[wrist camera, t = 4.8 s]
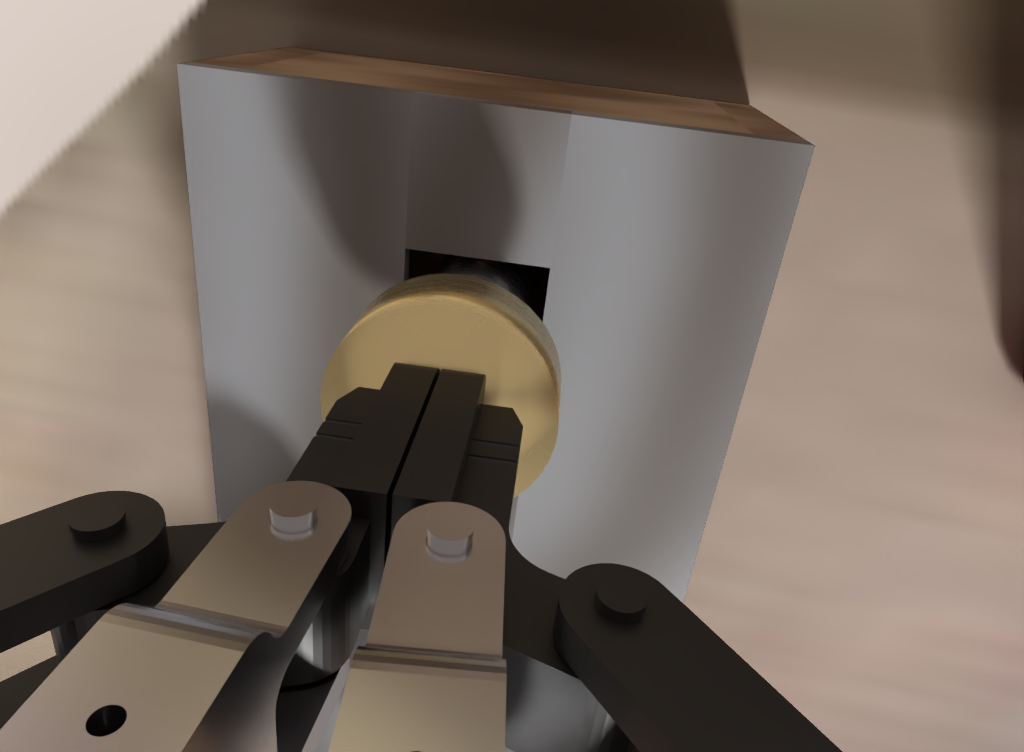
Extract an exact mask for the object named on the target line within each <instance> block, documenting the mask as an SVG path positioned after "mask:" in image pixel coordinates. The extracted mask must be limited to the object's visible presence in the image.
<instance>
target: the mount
mask: <svg viewBox="0 0 1024 752" xmlns="http://www.w3.org/2000/svg"><path fill="white" fill-rule="evenodd" d="M177 72H178V83H179V94H180V105H181V116H182V127H183V139H184V150H185V161H186V172H187V183H188V194H189V205H190V216H191V227H192V238H193V249H194V260H195V271H196V282H197V293H198V304H199V315H200V326H201V337H202V348H203V360H204V371H205V382H206V393H207V404H208V415H209V426H210V437H211V448H212V459H213V470H214V481H215V492H216V503H217V514H218V522H224V521H227V520H228V519H229V518H230V516H231V515H232V514H233V513H234V511H235V510H236V509H237V508H238V507H239V505H240V504H241V503H242V502H243V501H244V500H245V499H246V498H247V497H248V496H250V495H251V494H253V493H254V492H256V491H258V490H260V489H262V488H264V487H267V486H269V485H273V484H277V483H281V482H286V480H287V479H288V477H289V476H290V474H291V472H292V471H293V469H294V468H295V466H296V464H297V463H298V461H299V460H300V458H301V456H302V455H303V453H304V452H305V450H306V448H307V447H308V445H309V444H310V442H311V440H312V439H313V437H314V436H315V437H316V432H317V431H318V429H319V428H320V426H321V424H322V423H323V420H322V415H321V405H320V396H321V385H322V381H323V376H324V373H325V370H326V368H327V365H328V363H329V360H330V359H331V357H332V355H333V354H334V352H335V350H336V349H337V347H338V346H339V344H340V343H341V342H342V340H343V339H344V338H345V336H346V335H347V333H348V332H349V331H350V329H351V328H352V326H353V325H354V324H355V322H356V321H357V320H358V318H359V317H360V315H361V314H362V313H363V312H364V310H365V309H366V308H367V307H368V305H369V304H370V303H371V302H372V301H374V300H375V299H376V298H377V297H378V296H379V295H380V294H382V293H383V292H385V291H386V290H388V289H389V288H391V287H393V286H395V285H397V284H399V283H401V282H403V281H406V280H409V279H412V278H415V277H419V276H424V275H430V274H435V273H436V271H437V269H438V267H439V266H440V264H441V262H442V260H443V258H444V257H445V255H446V254H450V255H457V256H464V257H472V258H479V259H487V260H494V261H501V262H509V263H516V264H524V265H531V266H539V268H538V274H537V279H536V285H535V290H534V296H533V302H532V307H531V309H532V310H533V312H534V313H535V314H536V315H537V316H538V317H539V318H540V320H541V321H542V322H543V324H544V325H545V327H546V328H547V330H548V332H549V333H550V335H551V337H552V339H553V341H554V344H555V347H556V349H557V352H558V356H559V361H560V365H561V378H562V381H561V396H560V411H559V425H558V435H557V440H556V444H555V448H554V450H553V453H552V455H551V458H550V460H549V462H548V463H547V465H546V467H545V468H544V470H543V472H542V473H541V474H540V475H539V476H538V478H537V479H536V480H535V481H534V482H533V483H532V484H531V485H530V486H529V487H528V488H527V489H526V490H525V491H523V492H522V493H520V494H519V495H518V496H516V497H515V498H513V505H512V512H511V519H510V526H509V534H510V538H511V540H512V542H513V544H514V546H515V547H516V549H517V550H518V551H519V552H520V554H521V555H522V556H523V557H524V558H526V559H527V560H528V561H529V562H531V563H532V564H534V565H535V566H537V567H539V568H540V569H542V570H545V571H547V572H549V573H551V574H554V575H556V576H559V577H561V578H564V579H566V578H567V577H568V575H570V574H571V573H572V572H574V571H575V570H577V569H579V568H581V567H584V566H587V565H591V564H598V563H613V564H621V565H625V566H629V567H632V568H635V569H638V570H640V571H642V572H644V573H646V574H648V575H650V576H652V577H653V578H655V579H656V580H658V581H659V582H660V583H661V584H663V585H664V586H665V587H666V588H667V589H668V590H669V591H670V592H671V593H672V594H673V595H675V596H676V597H677V598H678V599H679V600H680V601H681V602H682V603H683V600H684V597H685V593H686V590H687V587H688V583H689V580H690V576H691V573H692V569H693V566H694V562H695V559H696V555H697V552H698V548H699V545H700V542H701V538H702V535H703V531H704V528H705V524H706V521H707V517H708V514H709V510H710V507H711V503H712V500H713V496H714V493H715V490H716V486H717V483H718V479H719V476H720V472H721V469H722V465H723V462H724V458H725V455H726V451H727V448H728V445H729V441H730V438H731V434H732V431H733V427H734V424H735V420H736V417H737V413H738V410H739V406H740V403H741V400H742V396H743V393H744V389H745V386H746V382H747V379H748V375H749V372H750V368H751V365H752V361H753V358H754V355H755V351H756V348H757V344H758V341H759V337H760V334H761V330H762V327H763V323H764V320H765V316H766V313H767V310H768V306H769V303H770V299H771V296H772V292H773V289H774V285H775V282H776V278H777V275H778V271H779V268H780V264H781V261H782V258H783V254H784V251H785V247H786V244H787V240H788V237H789V233H790V230H791V226H792V223H793V219H794V216H795V213H796V209H797V206H798V202H799V199H800V195H801V192H802V188H803V185H804V181H805V178H806V174H807V171H808V168H809V164H810V161H811V157H812V154H813V150H814V147H815V145H813V144H811V143H810V142H808V141H807V140H805V139H803V138H802V137H800V136H799V135H797V134H795V133H794V132H792V131H791V130H789V129H787V128H786V127H784V126H783V125H781V124H779V123H778V122H776V121H775V120H773V119H771V118H770V117H768V116H767V115H765V114H763V113H762V112H760V111H759V110H757V109H755V108H754V107H752V106H751V105H744V104H736V103H728V102H720V101H712V100H704V99H696V98H689V97H681V96H673V95H665V94H657V93H649V92H641V91H633V90H626V89H618V88H610V87H602V86H594V85H586V84H578V83H571V82H563V81H555V80H547V79H539V78H531V77H523V76H515V75H508V74H500V73H492V72H484V71H476V70H468V69H460V68H453V67H445V66H437V65H429V64H421V63H413V62H405V61H398V60H390V59H382V58H374V57H366V56H358V55H350V54H342V53H335V52H327V51H319V50H311V49H303V48H295V47H286V48H279V49H272V50H265V51H259V52H252V53H245V54H239V55H232V56H225V57H219V58H212V59H205V60H198V61H192V62H185V63H178V64H177ZM368 633H369V630H364V629H360V631H359V634H358V637H357V640H356V643H355V645H354V648H353V651H352V653H351V655H350V666H351V662H352V659H353V656H354V653H355V651H356V649H357V647H358V646H365V645H366V641H367V637H368ZM349 670H350V669H349ZM345 685H346V684H345ZM344 689H345V686H344V688H343V690H342V692H341V695H340V697H339V699H338V701H337V704H336V706H335V708H334V710H333V713H332V715H331V717H330V719H329V721H328V724H327V726H326V728H325V730H324V733H323V735H322V737H321V739H320V742H319V744H318V746H317V748H316V750H315V752H328V751H329V747H330V743H331V739H332V736H333V732H334V728H335V724H336V720H337V716H338V712H339V708H340V705H341V701H342V697H343V693H344ZM505 752H514V751H512V750H510V749H508V748H506V747H505Z"/></svg>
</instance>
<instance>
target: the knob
mask: <svg viewBox="0 0 1024 752" xmlns="http://www.w3.org/2000/svg"><path fill="white" fill-rule="evenodd" d="M538 268H539V266H531V265H524V264H516V263H509V262H501V261H494V260H487V259H479V258H472V257H464V256H457V255H450V254H446V255H445V257H444V258H443V260H442V262H441V264H440V266H439V267H438V269H437V271H436V273H435V274H430V275H424V276H419V277H415V278H412V279H409V280H406V281H403V282H401V283H399V284H397V285H395V286H393V287H391V288H389V289H388V290H386V291H385V292H383V293H382V294H380V295H379V296H378V297H377V298H376V299H375V300H374V301H372V302H371V303H370V304H369V305H368V307H367V308H366V309H365V310H364V312H363V313H362V314H361V315H360V317H359V318H358V320H357V321H356V322H355V324H354V325H353V326H352V328H351V329H350V331H349V332H348V333H347V335H346V336H345V338H344V339H343V340H342V342H341V343H340V344H339V346H338V347H337V349H336V350H335V352H334V354H333V355H332V357H331V359H330V360H329V363H328V365H327V368H326V370H325V373H324V376H323V381H322V385H321V396H320V405H321V415H322V420H323V422H325V418H326V416H327V415H328V413H329V412H330V410H331V408H332V407H333V405H334V404H335V402H336V400H338V399H339V398H341V397H343V396H344V395H346V394H348V393H349V392H351V391H353V390H354V389H356V388H357V387H364V388H371V389H379V390H380V389H381V387H382V385H383V383H384V381H385V379H386V377H387V375H388V374H389V372H390V370H391V368H392V366H393V364H394V363H395V362H397V363H405V364H412V365H419V366H426V367H433V368H439V369H440V372H441V370H442V369H449V370H456V371H463V372H471V373H478V374H485V375H486V384H485V393H484V403H483V404H487V405H494V406H501V407H509V408H513V409H514V411H515V413H516V415H517V416H518V418H519V420H520V422H521V423H522V425H523V432H522V439H521V446H520V454H519V461H518V468H517V476H516V483H515V490H514V498H515V497H516V496H518V495H519V494H520V493H522V492H523V491H525V490H526V489H527V488H528V487H529V486H530V485H531V484H532V483H533V482H534V481H535V480H536V479H537V478H538V476H539V475H540V474H541V473H542V472H543V470H544V468H545V467H546V465H547V463H548V462H549V460H550V458H551V455H552V453H553V450H554V448H555V444H556V440H557V435H558V425H559V411H560V396H561V381H562V378H561V365H560V361H559V356H558V352H557V349H556V347H555V344H554V341H553V339H552V337H551V335H550V333H549V332H548V330H547V328H546V327H545V325H544V324H543V322H542V321H541V320H540V318H539V317H538V316H537V315H536V314H535V313H534V312H533V310H532V309H531V307H532V302H533V296H534V290H535V285H536V279H537V274H538Z"/></svg>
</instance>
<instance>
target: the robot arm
mask: <svg viewBox="0 0 1024 752" xmlns="http://www.w3.org/2000/svg"><path fill="white" fill-rule="evenodd" d="M485 384H486V375H485V374H478V373H471V372H463V371H456V370H449V369H442V370H441V372H440V369H439V368H433V367H426V366H419V365H412V364H405V363H397V362H395V363H394V364H393V366H392V368H391V370H390V372H389V374H388V375H387V377H386V379H385V381H384V383H383V385H382V387H381V389H380V390H379V389H371V388H364V387H357V388H356V389H354V390H353V391H351V392H349V393H348V394H346V395H344V396H343V397H341V398H339V399H338V400H336V402H335V404H334V405H333V407H332V408H331V410H330V412H329V413H328V415H327V416H326V418H325V422H323V423H322V424H321V426H320V428H319V429H318V431H317V432H316V437H315V436H314V437H313V439H312V440H311V442H310V444H309V445H308V447H307V448H306V450H305V452H304V453H303V455H302V456H301V458H300V460H299V461H298V463H297V464H296V466H295V468H294V469H293V471H292V472H291V474H290V476H289V477H288V479H287V480H286V482H281V483H277V484H273V485H269V486H267V487H264V488H262V489H260V490H258V491H256V492H254V493H253V494H251V495H250V496H248V497H247V498H246V499H245V500H244V501H243V502H242V503H241V504H240V505H239V507H238V508H237V509H236V510H235V511H234V513H233V514H232V515H231V516H230V518H229V519H228V520H227V521H224V522H218V523H210V524H196V525H183V526H169V527H166V521H165V514H164V511H163V508H162V507H161V506H160V504H159V503H158V502H156V501H155V500H154V499H152V498H150V497H148V496H146V495H143V494H140V493H135V492H130V491H106V492H98V493H94V494H89V495H85V496H82V497H78V498H75V499H72V500H69V501H67V502H64V503H61V504H58V505H55V506H52V507H50V508H47V509H44V510H41V511H38V512H35V513H33V514H30V515H27V516H24V517H21V518H18V519H16V520H13V521H10V522H7V523H4V524H1V525H0V653H1V652H4V651H6V650H8V649H10V648H12V647H15V646H17V645H19V644H21V643H23V642H26V641H28V640H30V639H32V638H34V637H36V636H39V635H41V634H43V633H45V632H47V631H51V635H52V639H53V643H54V647H55V651H56V656H54V657H51V658H49V659H47V660H45V661H43V662H41V663H39V664H37V665H35V666H33V667H31V668H28V669H26V670H24V671H22V672H20V673H18V674H16V675H14V676H12V677H10V678H8V679H6V680H3V681H1V682H0V752H315V750H316V748H317V746H318V744H319V742H320V739H321V737H322V735H323V733H324V730H325V728H326V726H327V724H328V721H329V719H330V717H331V715H332V713H333V710H334V708H335V706H336V704H337V701H338V699H339V697H340V695H341V692H342V690H343V688H344V686H345V689H344V693H343V697H342V701H341V705H340V708H339V712H338V716H337V720H336V724H335V728H334V732H333V736H332V739H331V743H330V747H329V751H328V752H505V747H506V748H508V749H510V750H512V751H514V752H842V751H841V750H840V749H839V748H838V747H837V746H836V745H835V744H833V743H832V742H831V741H830V740H829V739H828V738H827V737H826V736H825V735H824V734H823V733H822V732H821V731H820V730H818V729H817V728H816V727H815V726H814V725H813V724H812V723H811V722H810V721H809V720H808V719H807V718H806V717H804V716H803V715H802V714H801V713H800V712H799V711H798V710H797V709H796V708H795V707H794V706H793V705H792V704H791V703H789V702H788V701H787V700H786V699H785V698H784V697H783V696H782V695H781V694H780V693H779V692H778V691H777V690H775V689H774V688H773V687H772V686H771V685H770V684H769V683H768V682H767V681H766V680H765V679H764V678H763V677H762V676H760V675H759V674H758V673H757V672H756V671H755V670H754V669H753V668H752V667H751V666H750V665H749V664H748V663H746V662H745V661H744V660H743V659H742V658H741V657H740V656H739V655H738V654H737V653H736V652H735V651H734V650H733V649H731V648H730V647H729V646H728V645H727V644H726V643H725V642H724V641H723V640H722V639H721V638H720V637H719V636H718V635H716V634H715V633H714V632H713V631H712V630H711V629H710V628H709V627H708V626H707V625H706V624H705V623H704V622H702V621H701V620H700V619H699V618H698V617H697V616H696V615H695V614H694V613H693V612H692V611H691V610H690V609H689V608H687V607H686V606H685V605H684V604H683V603H682V602H681V601H680V600H679V599H678V598H677V597H676V596H675V595H673V594H672V593H671V592H670V591H669V590H668V589H667V588H666V587H665V586H664V585H663V584H661V583H660V582H659V581H658V580H656V579H655V578H653V577H652V576H650V575H648V574H646V573H644V572H642V571H640V570H638V569H635V568H632V567H629V566H625V565H621V564H613V563H598V564H591V565H587V566H584V567H581V568H579V569H577V570H575V571H574V572H572V573H571V574H570V575H568V577H567V578H566V579H564V578H561V577H559V576H556V575H554V574H551V573H549V572H547V571H545V570H542V569H540V568H539V567H537V566H535V565H534V564H532V563H531V562H529V561H528V560H527V559H526V558H524V557H523V556H522V555H521V554H520V552H519V551H518V550H517V549H516V547H515V546H514V544H513V542H512V540H511V538H510V534H509V526H510V519H511V512H512V505H513V498H514V490H515V483H516V476H517V468H518V461H519V454H520V446H521V439H522V432H523V425H522V423H521V422H520V420H519V418H518V416H517V415H516V413H515V411H514V409H513V408H509V407H501V406H494V405H487V404H483V403H484V393H485ZM360 629H364V630H369V633H368V637H367V641H366V645H365V646H358V647H357V649H356V651H355V653H354V656H353V659H352V662H351V666H350V655H351V653H352V651H353V648H354V645H355V643H356V640H357V637H358V634H359V631H360ZM349 669H350V670H349ZM345 684H346V685H345Z"/></svg>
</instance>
